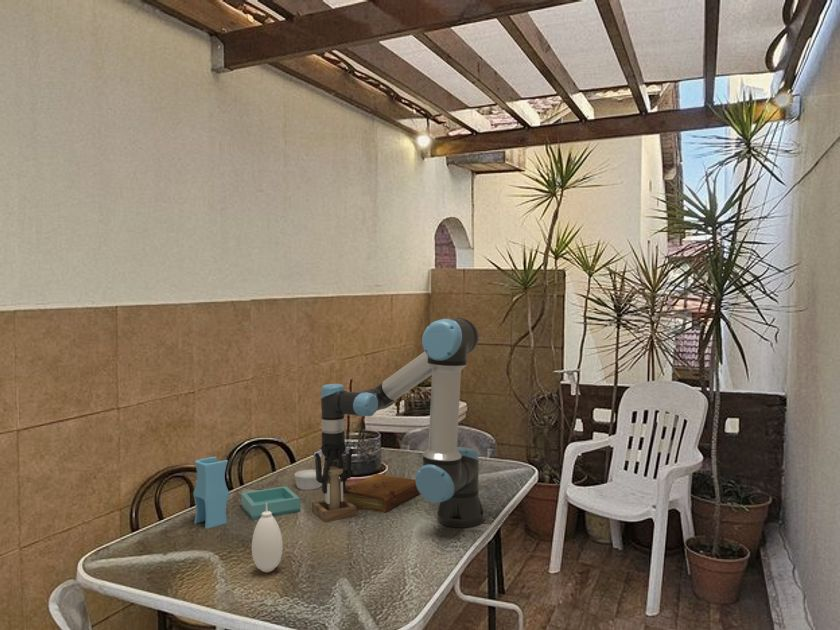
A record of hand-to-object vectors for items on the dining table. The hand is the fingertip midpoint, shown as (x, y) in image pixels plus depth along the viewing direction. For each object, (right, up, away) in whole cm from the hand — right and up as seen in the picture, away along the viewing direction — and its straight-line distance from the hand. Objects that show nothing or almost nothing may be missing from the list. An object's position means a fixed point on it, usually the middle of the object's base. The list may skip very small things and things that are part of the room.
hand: (334, 501), depth 206 cm
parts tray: (-23, -4, +6) cm, 24 cm away
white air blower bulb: (-11, -5, -44) cm, 45 cm away
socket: (0, -4, 0) cm, 4 cm away
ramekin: (-14, -4, +31) cm, 34 cm away
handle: (0, -4, 0) cm, 4 cm away
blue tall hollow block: (-38, -5, -7) cm, 39 cm away
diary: (+15, -4, +15) cm, 21 cm away
